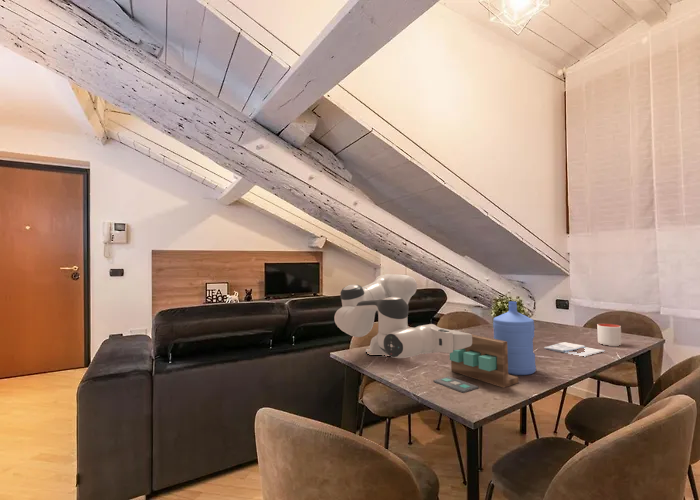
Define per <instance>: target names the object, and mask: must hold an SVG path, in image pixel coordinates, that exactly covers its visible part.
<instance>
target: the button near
mask: <svg viewBox="0 0 700 500" xmlns="http://www.w3.org/2000/svg"><path fill="white" fill-rule="evenodd" d="M479 369H483V370H486V371H492V370H496V369H497V356H493V355H489V354H486V355H482V356H479Z"/></svg>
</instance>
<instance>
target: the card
mask: <svg viewBox="0 0 700 500" xmlns="http://www.w3.org/2000/svg"><path fill="white" fill-rule="evenodd" d="M433 383H436V384H437V385H438V384H439V385H442V386H444V387H447V388H449V389H452V390H454V391H457V392H460V393H462V394H463V393H464V394H465V393H467V392H471V391H474V390H476V389H479V386H478V385H475V384H472V383H469V382H466V381H463V380H461V379H458V378H455V377H452V376H449V375H448V376H445V377H444V376H443V377H440V378H436V379H433Z"/></svg>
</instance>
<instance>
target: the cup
mask: <svg viewBox="0 0 700 500" xmlns="http://www.w3.org/2000/svg"><path fill="white" fill-rule="evenodd" d="M596 325H597V329H596V330H597V343H598V344H599V343H600V345H601V344H603V345H602V346H605V345H609V346H608V347H620V346H621V345H622V326H621V325H619V324H614V323H597V324H596ZM619 345H620V346H619Z"/></svg>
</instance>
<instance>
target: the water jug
mask: <svg viewBox="0 0 700 500" xmlns="http://www.w3.org/2000/svg"><path fill="white" fill-rule="evenodd" d="M517 303H518V302H517V301H515V300H514V301H512V300H511V301H508V311H507V312H504V313H502V314H500V315H498V316H495V317H493V319H492V321H493V322H492V328H493V339H497V340H502V341H507V349H508V374H509V375H512V376H529V375H532V374H534V373H536V370H537V368H536V367H537V365H536V354H535V352H534V343H533V342H534V338H535V320H534V319H533V318H531V317H528V316H527V315H525V314H522V313H520V312H519V311H518V309H517V308H518V305H517Z"/></svg>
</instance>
